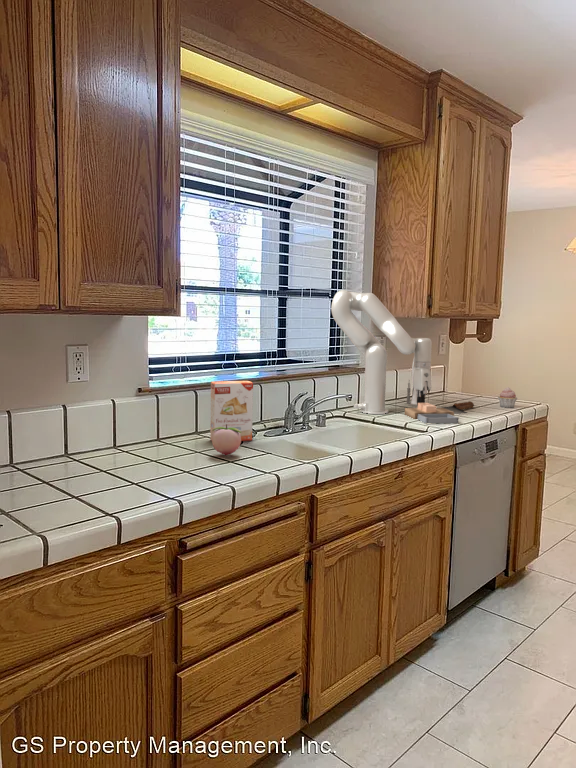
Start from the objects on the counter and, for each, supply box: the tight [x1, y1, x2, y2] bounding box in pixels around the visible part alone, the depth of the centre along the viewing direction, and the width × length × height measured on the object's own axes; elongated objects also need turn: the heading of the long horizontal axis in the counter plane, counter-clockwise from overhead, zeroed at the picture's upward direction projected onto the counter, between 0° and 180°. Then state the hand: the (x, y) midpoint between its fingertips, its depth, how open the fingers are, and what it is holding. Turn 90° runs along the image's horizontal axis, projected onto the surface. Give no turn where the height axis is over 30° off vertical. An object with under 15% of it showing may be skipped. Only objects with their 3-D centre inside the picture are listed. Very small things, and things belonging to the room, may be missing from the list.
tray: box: [417, 414, 459, 424], centre depth 243 cm, size 14×10×2 cm
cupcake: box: [497, 386, 518, 409], centre depth 285 cm, size 9×9×10 cm
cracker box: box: [209, 380, 254, 442], centre depth 201 cm, size 14×6×21 cm, turn 112°
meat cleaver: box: [440, 400, 475, 415], centre depth 268 cm, size 34×11×4 cm, turn 130°
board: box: [404, 407, 455, 420], centre depth 254 cm, size 18×12×3 cm, turn 99°
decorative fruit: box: [211, 424, 242, 456], centre depth 179 cm, size 9×8×10 cm
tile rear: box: [417, 402, 432, 410], centre depth 257 cm, size 4×4×2 cm
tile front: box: [422, 404, 437, 412], centre depth 252 cm, size 4×4×2 cm
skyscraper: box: [405, 358, 424, 407], centre depth 287 cm, size 8×8×28 cm
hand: (420, 405), depth 261 cm, fingers closed
